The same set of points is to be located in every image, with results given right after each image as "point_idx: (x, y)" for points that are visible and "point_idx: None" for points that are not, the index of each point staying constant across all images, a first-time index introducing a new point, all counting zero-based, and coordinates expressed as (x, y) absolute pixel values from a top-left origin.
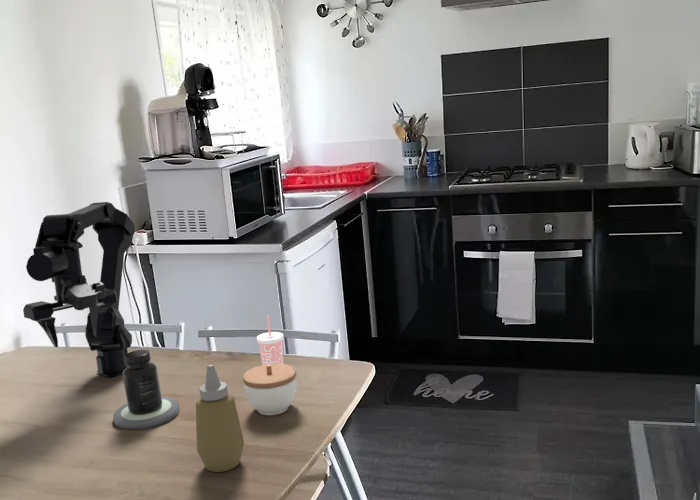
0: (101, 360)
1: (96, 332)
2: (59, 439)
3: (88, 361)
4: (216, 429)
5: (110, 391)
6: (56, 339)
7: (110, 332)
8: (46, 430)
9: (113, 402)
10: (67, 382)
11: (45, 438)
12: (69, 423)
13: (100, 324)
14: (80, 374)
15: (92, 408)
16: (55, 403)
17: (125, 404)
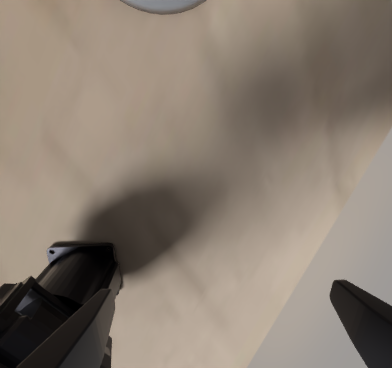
0: (107, 288)
1: (101, 307)
2: (355, 3)
3: None
4: None
5: (146, 169)
6: (382, 311)
7: (17, 343)
8: (337, 86)
9: (173, 97)
10: (183, 290)
11: (363, 43)
12: (294, 74)
13: (33, 355)
14: (147, 308)
15: (221, 110)
16: (250, 209)
17: (176, 4)
